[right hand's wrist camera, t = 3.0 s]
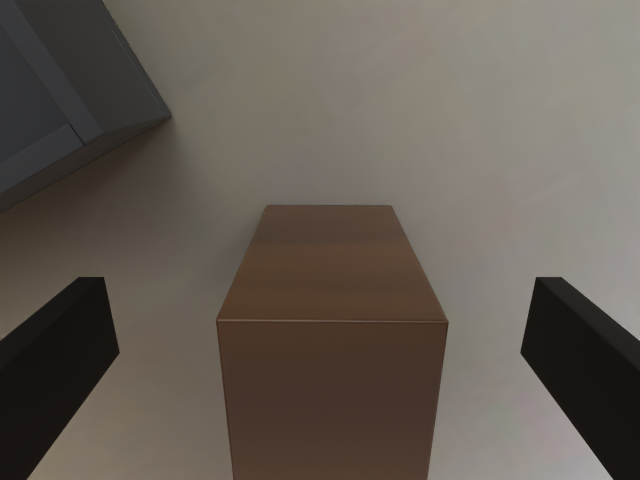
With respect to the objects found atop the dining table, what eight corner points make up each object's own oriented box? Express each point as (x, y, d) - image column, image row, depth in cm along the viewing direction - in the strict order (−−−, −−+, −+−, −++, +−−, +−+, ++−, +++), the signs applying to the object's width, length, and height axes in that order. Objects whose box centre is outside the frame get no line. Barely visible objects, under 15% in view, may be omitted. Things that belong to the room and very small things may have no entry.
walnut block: (266, 204, 15) (215, 319, 8) (391, 204, 15) (449, 321, 8) (272, 312, 17) (233, 484, 10) (384, 313, 17) (427, 487, 10)
